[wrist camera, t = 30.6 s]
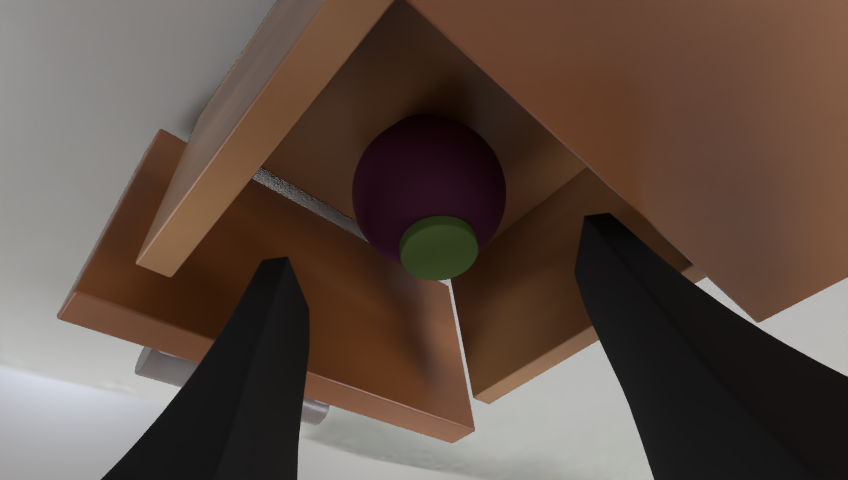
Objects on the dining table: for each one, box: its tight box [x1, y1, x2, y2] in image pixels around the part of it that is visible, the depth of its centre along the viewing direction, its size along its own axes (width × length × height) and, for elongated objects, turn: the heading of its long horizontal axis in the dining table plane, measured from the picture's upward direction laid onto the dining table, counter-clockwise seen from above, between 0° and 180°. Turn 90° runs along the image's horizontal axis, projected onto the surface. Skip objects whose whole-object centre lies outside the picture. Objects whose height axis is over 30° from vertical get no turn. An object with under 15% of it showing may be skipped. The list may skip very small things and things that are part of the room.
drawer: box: [57, 0, 707, 443], centre depth 15 cm, size 17×13×7 cm
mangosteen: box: [352, 114, 506, 281], centre depth 14 cm, size 4×4×5 cm
